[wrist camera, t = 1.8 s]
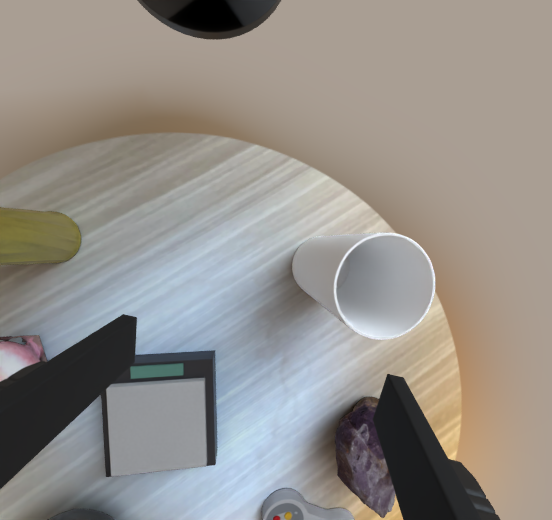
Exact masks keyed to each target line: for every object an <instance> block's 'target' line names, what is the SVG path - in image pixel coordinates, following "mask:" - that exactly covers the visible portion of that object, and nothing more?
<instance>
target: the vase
mask: <svg viewBox="0 0 552 520" xmlns="http://www.w3.org/2000/svg"><path fill="white" fill-rule="evenodd" d="M80 244H81V235H80V231H79V229H78V226H77V225H76V223H75V222H74V221H73V220H72V219H71V218H69V217H68V216H66V215H64V214H62V213H58V212H52V211H48V212H42V211H32V210H23V209H12V208H1V207H0V265H19V264H42V263H60V262H63V261H67V260H69V259H70V258H72V257H73V256H74V255H75V254H76V253H77V251H78V250H79V247H80Z"/></svg>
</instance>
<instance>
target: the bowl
mask: <svg viewBox="0 0 552 520" xmlns="http://www.w3.org/2000/svg"><path fill="white" fill-rule="evenodd" d="M48 520H114V519H113V518H112V517H110V516H109V515H107V514H104V513H102V512H99V511H95V510H86V509H73V510H69V511H66V512H64V513H61V514H59V515H56V516H54V517H52V518H50V519H48Z"/></svg>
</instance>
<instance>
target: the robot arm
mask: <svg viewBox="0 0 552 520" xmlns="http://www.w3.org/2000/svg"><path fill="white" fill-rule="evenodd" d="M136 323H137V317H133V316H128V315H124V314H123V315H121V316H120V317H118V318H117V319H115V320H113V321H112V322H110V323H109V324H107V325H105V326H104V327H102V328H100V329H99V330H97V331H96V332H94V333H92V334H91V335H89V336H88V337H86V338H84V339H83V340H81V341H80V342H78V343H76V344H75V345H73V346H72V347H70V348H68V349H67V350H65V351H64V352H62V353H60V354H59V355H57V356H56V357H54V358H52V359H51V360H49V361H48V362H45V361H40V362H37V363H35V364H32V365H29V366H27V367H24V368H22V369H21V370H19V371H17V372H16V373H14V374H12V375H11V376H9V377H8V378H7V379H4V380H2V381H0V489H1V488H2V487H3V486H4V485H5V484H6V483H7V482H8V481H9V480H11V479H12V478H13V477H14V476H15V475H16V474H17V473H18V472H19V471H20V470H21V469H22V468H23V467H24V466H25V465H26V464H27V463H29V462H30V461H31V460H32V459H33V458H34V457H35V456H36V455H37V454H38V453H39V452H40V451H41V450H42V449H43V448H44V447H45V446H47V445H48V444H49V443H50V442H51V441H52V440H53V439H54V438H55V437H56V436H57V435H58V434H59V433H60V432H61V431H62V430H63V429H65V428H66V427H67V426H68V425H69V424H70V423H71V422H72V421H73V420H74V419H75V418H76V417H77V416H78V415H79V414H80V413H81V412H83V411H84V410H85V409H86V408H87V407H88V406H89V405H90V404H91V403H92V402H93V401H94V400H95V399H96V398H97V397H98V396H99V395H101V394H102V393H103V392H104V391H105V390H106V389H107V388H108V387H109V386H110V385H111V384H112V383H113V382H114V381H115V380H116V379H117V378H118V377H120V376H121V375H122V374H123V373H124V372H125V371H126V370H127V369H128V368H129V367H130V366H131V365H132V364H133V363H134V362H135V344H136ZM373 422H374V425H375V428H376V431H377V435H378V438H379V441H380V445H381V448H382V451H383V454H384V458H385V461H386V464H387V467H388V471H389V474H390V477H391V480H392V484H393V487H394V490H395V494H396V497H397V500H398V503H399V507H400V510H401V513H402V516H403V520H500V518H499V517H498V515H496V514H495V510H494V508H493V507H492V505H491V504H490V502H489V501H488V499H486V495H485V494H484V492H483V491H482V489H481V487H480V485H479V484H478V482H477V481H476V479H475V478H474V477H473V475H472V474H471V473H470V472H469V471H468V470H467V469H466V468H465V467H464V466H463V465H462V463H461V462H458V461H454V460H450V459H448V458H447V456H446V454H445V452H444V450H443V449H442V447H441V445H440V443H439V441H438V439H437V438H436V436H435V434H434V432H433V430H432V429H431V427H430V425H429V423H428V421H427V420H426V418H425V416H424V414H423V412H422V410H421V409H420V407H419V405H418V403H417V401H416V400H415V398H414V396H413V394H412V392H411V391H410V389H409V387H408V385H407V383H406V381H405V380H404V378H403V377H399V376H394V375H390V374H387V377H386V380H385V383H384V386H383V389H382V392H381V395H380V398H379V401H378V404H377V407H376V411H375V414H374V417H373Z"/></svg>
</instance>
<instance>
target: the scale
mask: <svg viewBox="0 0 552 520" xmlns="http://www.w3.org/2000/svg"><path fill="white" fill-rule="evenodd" d="M101 398H102V415H103V432H104V450H105V467H106V477H114V476H123V475H132V474H141V473H150V472H159V471H168V470H177V469H186V468H195V467H204V466H210V465H215V464H216V456H217V414H216V371H215V351H199V352H181V353H164V354H146V355H135V362H134V363H133V364H132V365H131V366H130V367H129V368H128V369H127V370H126V371H125V372H124V373H123V374H122V375H121V376H120V377H118V378H117V379H116V380H115V381H114V382H113V383H112V384H111V385H110V386H109V387H108V388H107V389H106V390H105V391H104V392H103V393H102V394H101Z"/></svg>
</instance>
